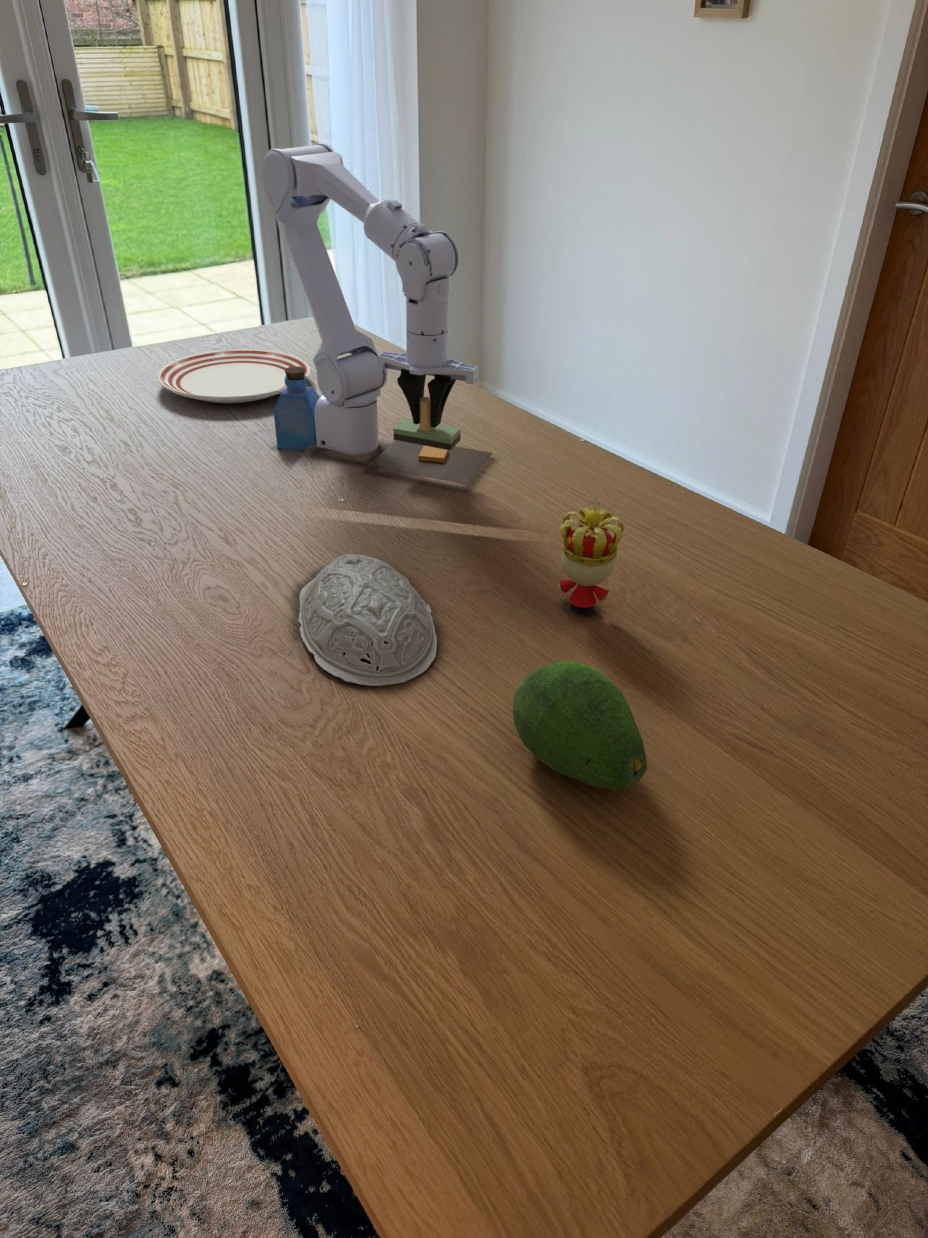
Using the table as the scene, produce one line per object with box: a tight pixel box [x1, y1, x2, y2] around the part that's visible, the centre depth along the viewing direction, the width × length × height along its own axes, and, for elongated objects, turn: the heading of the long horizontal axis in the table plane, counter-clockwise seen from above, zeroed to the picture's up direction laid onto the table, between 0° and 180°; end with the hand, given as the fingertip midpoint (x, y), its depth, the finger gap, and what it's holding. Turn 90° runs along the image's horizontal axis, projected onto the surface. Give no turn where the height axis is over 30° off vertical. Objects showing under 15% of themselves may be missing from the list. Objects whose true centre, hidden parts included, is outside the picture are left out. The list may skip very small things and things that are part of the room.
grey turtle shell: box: [298, 553, 438, 687], centre depth 103 cm, size 16×25×7 cm, turn 16°
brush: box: [392, 396, 462, 450], centre depth 129 cm, size 9×4×6 cm, turn 69°
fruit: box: [511, 659, 648, 791], centre depth 83 cm, size 15×10×10 cm, turn 28°
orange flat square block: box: [418, 446, 449, 463], centre depth 140 cm, size 4×4×1 cm
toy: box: [557, 497, 625, 616], centre depth 103 cm, size 7×7×15 cm
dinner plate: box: [156, 348, 311, 404], centre depth 165 cm, size 27×27×3 cm
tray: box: [368, 440, 493, 485], centre depth 139 cm, size 16×12×1 cm
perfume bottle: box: [273, 366, 320, 451], centre depth 143 cm, size 6×6×12 cm
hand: (426, 423), depth 130 cm, fingers closed on brush, 2 cm apart
